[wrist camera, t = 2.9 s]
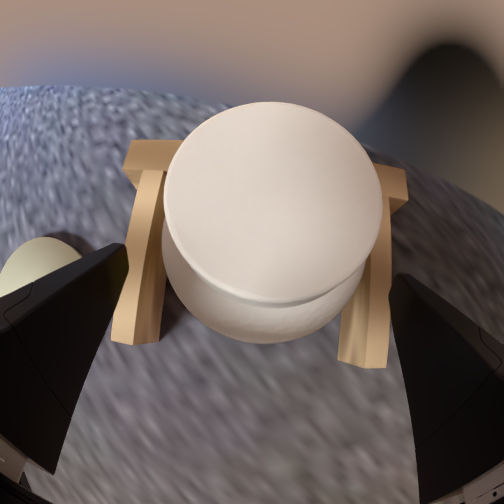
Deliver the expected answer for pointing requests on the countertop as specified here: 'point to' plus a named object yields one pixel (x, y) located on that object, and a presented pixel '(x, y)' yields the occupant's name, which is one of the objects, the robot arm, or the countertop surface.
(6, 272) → the coaster
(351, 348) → the tan u-shaped block
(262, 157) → the supplement bottle
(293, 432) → the countertop surface
